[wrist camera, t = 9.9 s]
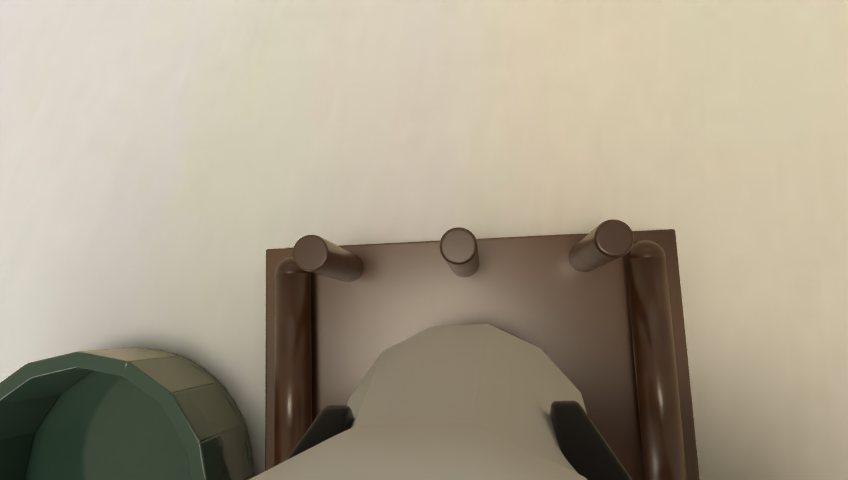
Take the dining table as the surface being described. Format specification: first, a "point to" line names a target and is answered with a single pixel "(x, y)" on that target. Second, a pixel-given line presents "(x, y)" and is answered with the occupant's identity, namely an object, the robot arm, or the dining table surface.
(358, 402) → the salt shaker
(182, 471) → the holder
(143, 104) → the dining table surface
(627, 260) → the rack
